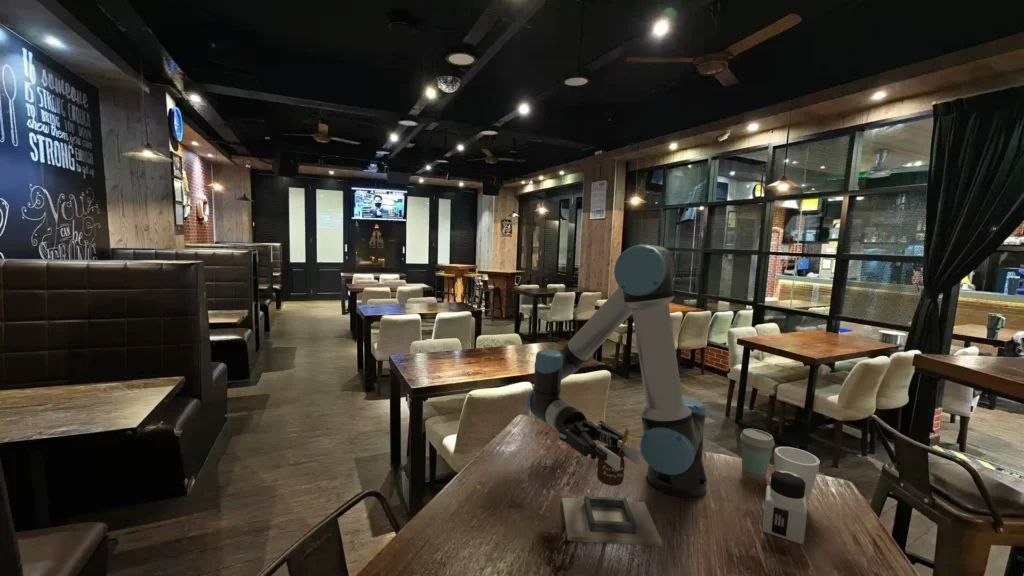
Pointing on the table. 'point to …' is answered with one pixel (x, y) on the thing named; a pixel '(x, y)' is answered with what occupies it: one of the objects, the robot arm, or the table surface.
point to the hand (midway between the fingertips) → (629, 461)
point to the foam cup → (798, 465)
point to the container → (785, 507)
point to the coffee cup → (756, 452)
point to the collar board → (609, 521)
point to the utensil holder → (609, 473)
